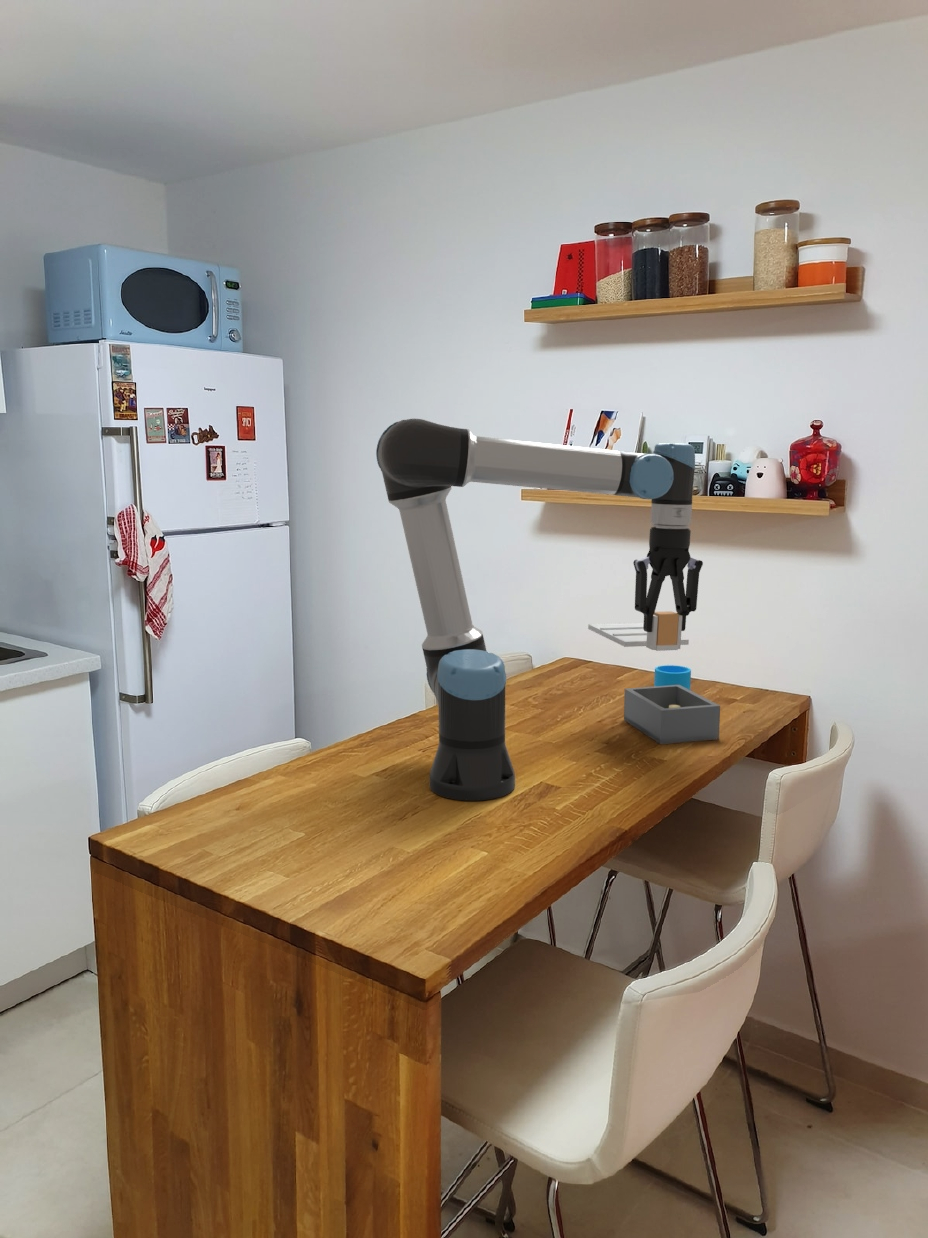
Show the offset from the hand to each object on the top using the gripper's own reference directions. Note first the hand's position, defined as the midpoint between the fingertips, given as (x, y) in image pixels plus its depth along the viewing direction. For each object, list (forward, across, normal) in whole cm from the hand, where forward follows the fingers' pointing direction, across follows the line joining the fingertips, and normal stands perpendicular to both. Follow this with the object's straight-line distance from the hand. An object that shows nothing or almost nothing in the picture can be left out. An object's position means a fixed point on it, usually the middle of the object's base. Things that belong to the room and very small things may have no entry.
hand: (663, 647), depth 184 cm
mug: (+21, +20, +33) cm, 44 cm away
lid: (0, 0, +10) cm, 10 cm away
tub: (+20, +9, +13) cm, 26 cm away
